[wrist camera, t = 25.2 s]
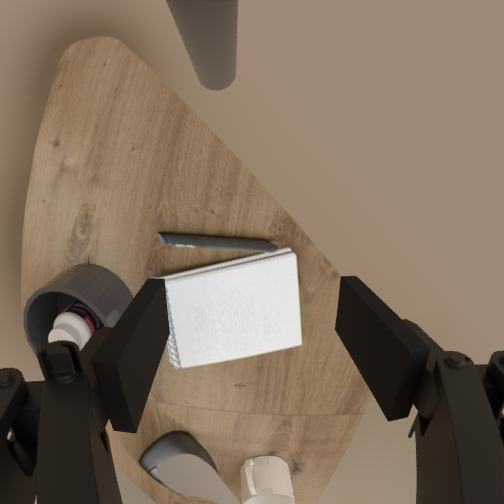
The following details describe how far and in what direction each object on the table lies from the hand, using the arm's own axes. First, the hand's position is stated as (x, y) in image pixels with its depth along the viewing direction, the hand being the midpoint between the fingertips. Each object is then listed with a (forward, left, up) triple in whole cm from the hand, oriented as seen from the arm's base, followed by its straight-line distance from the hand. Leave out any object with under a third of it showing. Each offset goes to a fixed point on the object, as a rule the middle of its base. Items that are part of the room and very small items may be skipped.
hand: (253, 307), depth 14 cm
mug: (+45, +3, -25) cm, 52 cm away
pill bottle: (+12, -21, -25) cm, 34 cm away
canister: (+12, -21, -25) cm, 35 cm away
